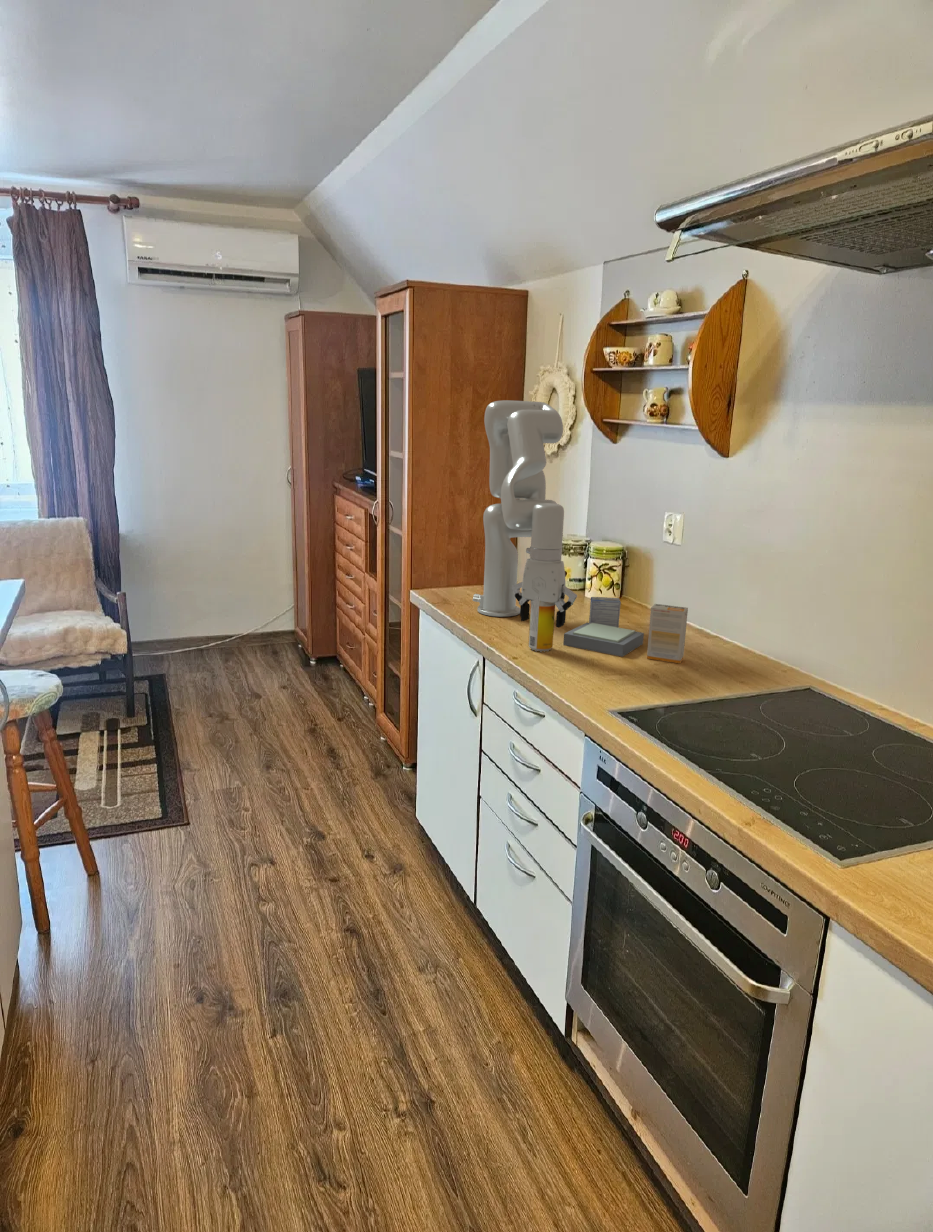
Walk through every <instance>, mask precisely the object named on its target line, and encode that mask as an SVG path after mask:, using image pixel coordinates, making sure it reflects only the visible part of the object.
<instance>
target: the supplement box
mask: <svg viewBox="0 0 933 1232" xmlns="http://www.w3.org/2000/svg"><path fill="white" fill-rule="evenodd" d="M688 611H689V607H684V606H675V605H667V604H659V603H654V604H653V605H651V607H650V617H649V627H648V629H649V630H648V641H647V651H646V659H647V660H654V661H655V660H656V661H662V662H668V663H674V664H681V662H682V661H683V660H684V655H685V654H684V653H685V644H686V634H687V632H686V631H687V624H688V622H687V621H688V613H689V612H688Z"/></svg>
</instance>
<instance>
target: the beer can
mask: <svg viewBox="0 0 933 1232" xmlns="http://www.w3.org/2000/svg"><path fill="white" fill-rule="evenodd" d="M529 605H530V611H529V620H528V621H529V623H528V624H529V625H528V642H527V647H528V648H529V649H530V648H531V649H532V650H531V649H530V650H531V651H533V650H535V651H534V652H537V651H540V652H539V653H545V651H547V652H550V651H551V650H552V648H553V647H554V646H553V645H554V631H555V629H554V628H555V617H556V616H555V614H556V605H555V603H553V604H551V603H544V602H542V601H540V597H536V598H535V600H533V601H532V600H530V603H529ZM549 650H550V651H549ZM542 651H544V652H542Z"/></svg>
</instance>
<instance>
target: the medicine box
mask: <svg viewBox="0 0 933 1232" xmlns="http://www.w3.org/2000/svg"><path fill="white" fill-rule="evenodd" d="M589 604H590V605H589V619H588V623H596V624H602V625H607V626H613V627H618V628H620V627H619V626H620V625H619V624H620V616H621V615H620V614H621V605H622V602H621V600H620V598H619V597H606V596H605V597H604V596H591V597H590V603H589Z"/></svg>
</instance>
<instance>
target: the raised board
mask: <svg viewBox="0 0 933 1232" xmlns="http://www.w3.org/2000/svg"><path fill="white" fill-rule="evenodd" d="M644 636H645V633H644V632H639V631H636V630H633V629H628V628H622V627H619V628H618V627H613V626H607V625H602V624H596V623H589V622H585V623H583V624H581V625H578V626H577V627H575V628H572V629H571V630H568V631H567V632H565V633H563V642H562V643H563V644H562V645H563V646H567V647H571V648H577V649H583V650H586V649H587V651H591V652H597V653H602V654H607V655H611V656H617V657H622V658H623V657H624V656H626V655H627V654H629V653H630V652H632V651H634V650H636V649H637V648H639V647H640V645H641V646H642V645H643V644H644V638H645V637H644ZM635 648H636V649H635Z"/></svg>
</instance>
